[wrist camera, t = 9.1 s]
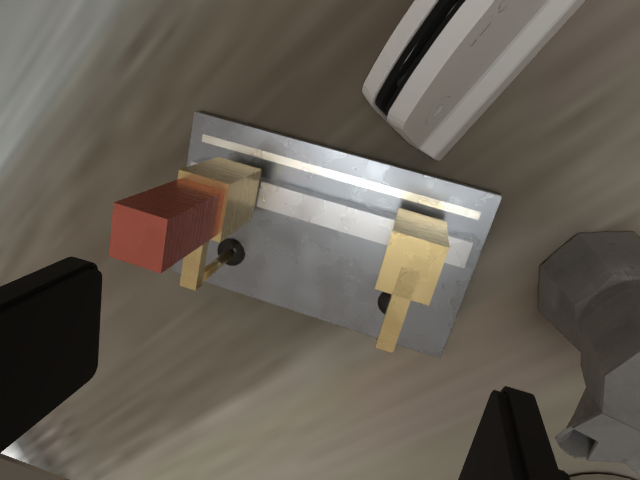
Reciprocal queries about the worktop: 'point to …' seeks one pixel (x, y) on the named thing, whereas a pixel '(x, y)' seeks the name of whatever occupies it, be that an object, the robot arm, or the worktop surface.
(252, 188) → the block
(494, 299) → the worktop surface
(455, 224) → the gauge plate
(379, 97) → the grey stapler
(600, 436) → the coffeepot
